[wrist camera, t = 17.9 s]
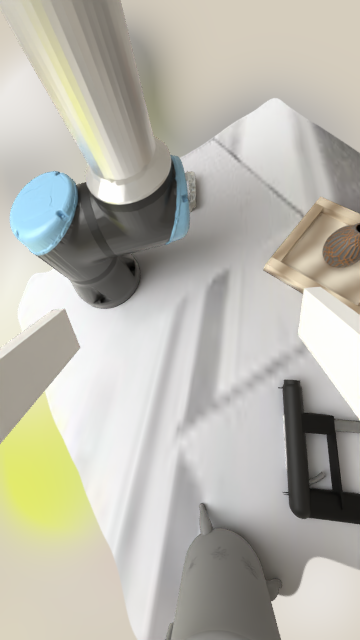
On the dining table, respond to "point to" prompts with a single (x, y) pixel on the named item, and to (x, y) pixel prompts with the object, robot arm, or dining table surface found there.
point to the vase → (343, 247)
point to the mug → (223, 590)
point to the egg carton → (191, 189)
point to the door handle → (300, 494)
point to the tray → (317, 255)
